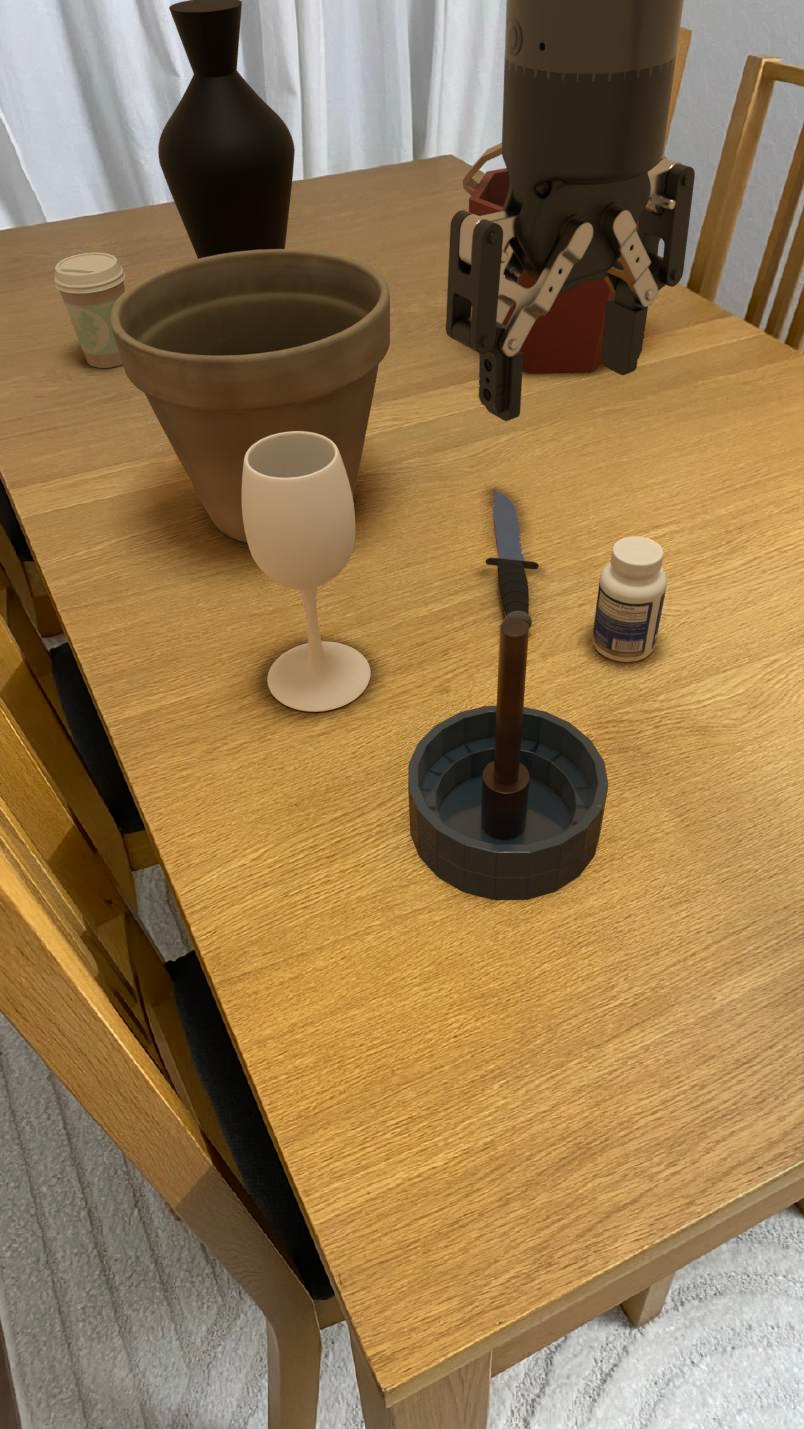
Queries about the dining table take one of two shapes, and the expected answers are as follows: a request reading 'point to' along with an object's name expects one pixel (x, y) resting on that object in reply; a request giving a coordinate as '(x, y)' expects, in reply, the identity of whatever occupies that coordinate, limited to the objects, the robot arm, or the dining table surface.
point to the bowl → (556, 809)
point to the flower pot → (254, 359)
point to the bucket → (575, 315)
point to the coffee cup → (92, 302)
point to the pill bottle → (630, 600)
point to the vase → (224, 142)
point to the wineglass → (304, 557)
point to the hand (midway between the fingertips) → (561, 391)
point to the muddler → (508, 740)
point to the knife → (510, 561)
